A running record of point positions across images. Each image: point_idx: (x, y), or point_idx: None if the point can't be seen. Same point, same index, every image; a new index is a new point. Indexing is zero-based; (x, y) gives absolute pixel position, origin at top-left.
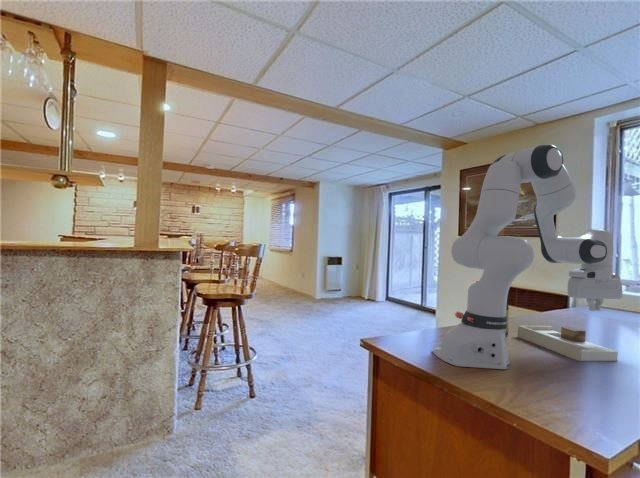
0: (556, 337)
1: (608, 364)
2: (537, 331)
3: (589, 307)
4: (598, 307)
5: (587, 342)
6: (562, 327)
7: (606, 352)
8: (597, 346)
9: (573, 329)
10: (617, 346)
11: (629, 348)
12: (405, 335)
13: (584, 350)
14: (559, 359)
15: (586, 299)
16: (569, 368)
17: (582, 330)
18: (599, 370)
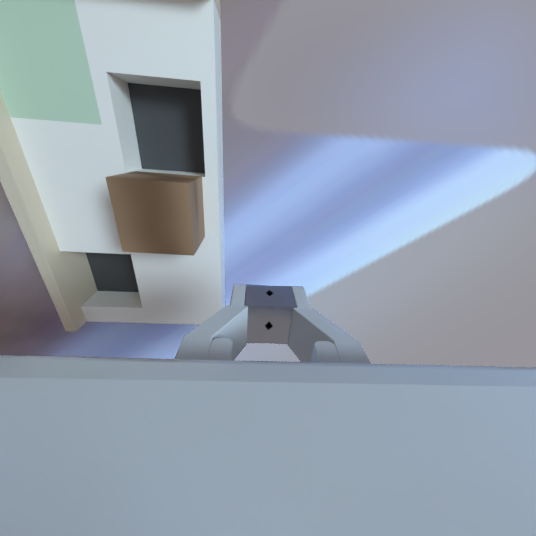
0: (111, 167)
1: (167, 325)
2: (66, 24)
3: (231, 298)
4: (282, 336)
5: (208, 243)
6: (107, 184)
7: (181, 322)
8: (202, 284)
9: (144, 229)
10: (414, 194)
11: (429, 219)
12: None
13: (107, 313)
14: (37, 291)
15: (180, 348)
16: (26, 339)
17: (183, 247)
18: (102, 350)
